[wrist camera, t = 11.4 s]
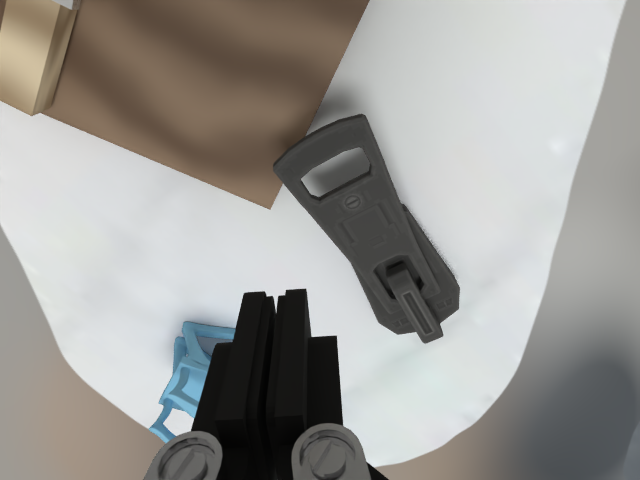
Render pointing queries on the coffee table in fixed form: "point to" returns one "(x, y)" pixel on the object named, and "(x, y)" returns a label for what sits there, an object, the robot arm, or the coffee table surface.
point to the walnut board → (203, 81)
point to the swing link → (32, 52)
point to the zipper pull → (374, 231)
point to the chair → (187, 374)
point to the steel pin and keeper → (69, 3)
